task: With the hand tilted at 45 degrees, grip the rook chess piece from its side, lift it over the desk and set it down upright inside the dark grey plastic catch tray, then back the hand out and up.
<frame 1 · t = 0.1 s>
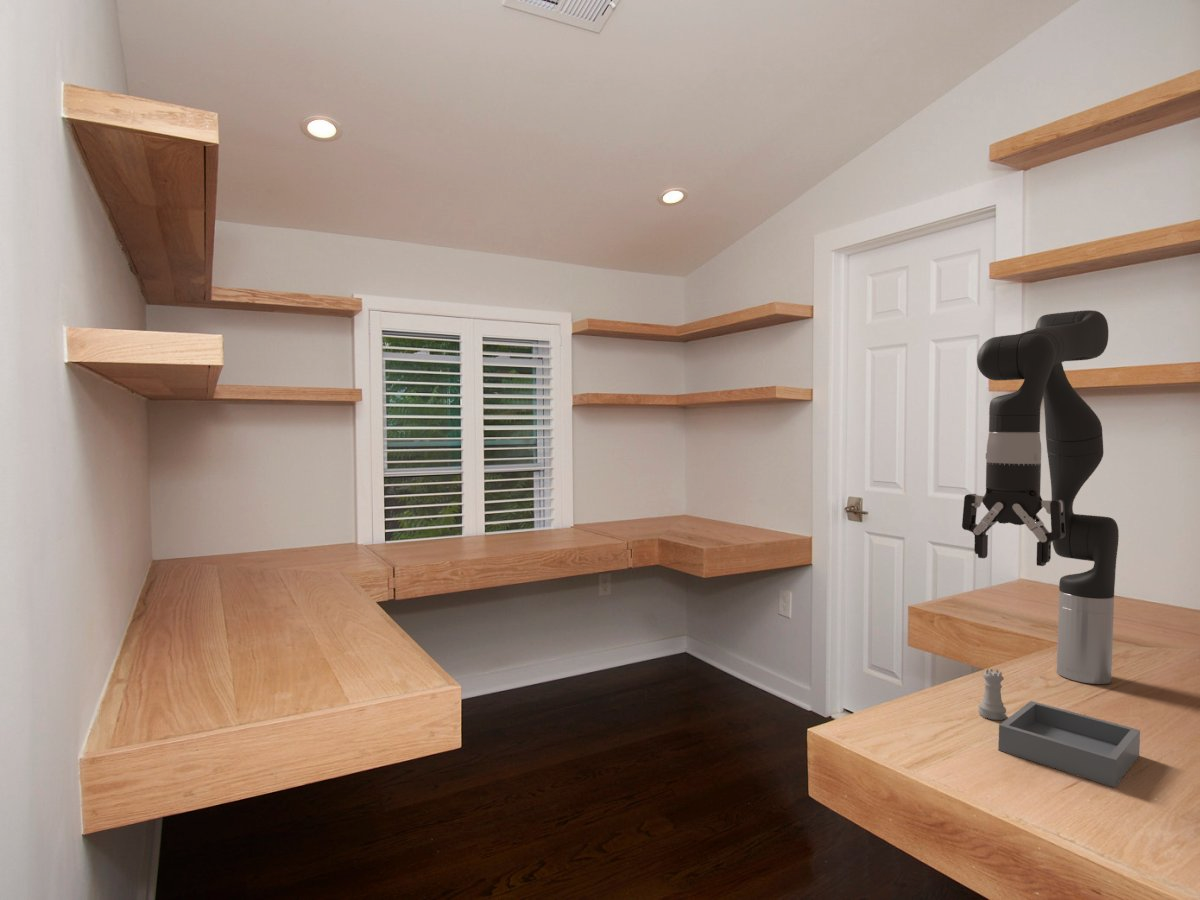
hand: (1010, 561, 111), 29 cm above the table, tool pointing down, fingers open, 8 cm apart
rook chess piece: (991, 717, 121), on the table
catch tray: (1068, 752, 108), on the table
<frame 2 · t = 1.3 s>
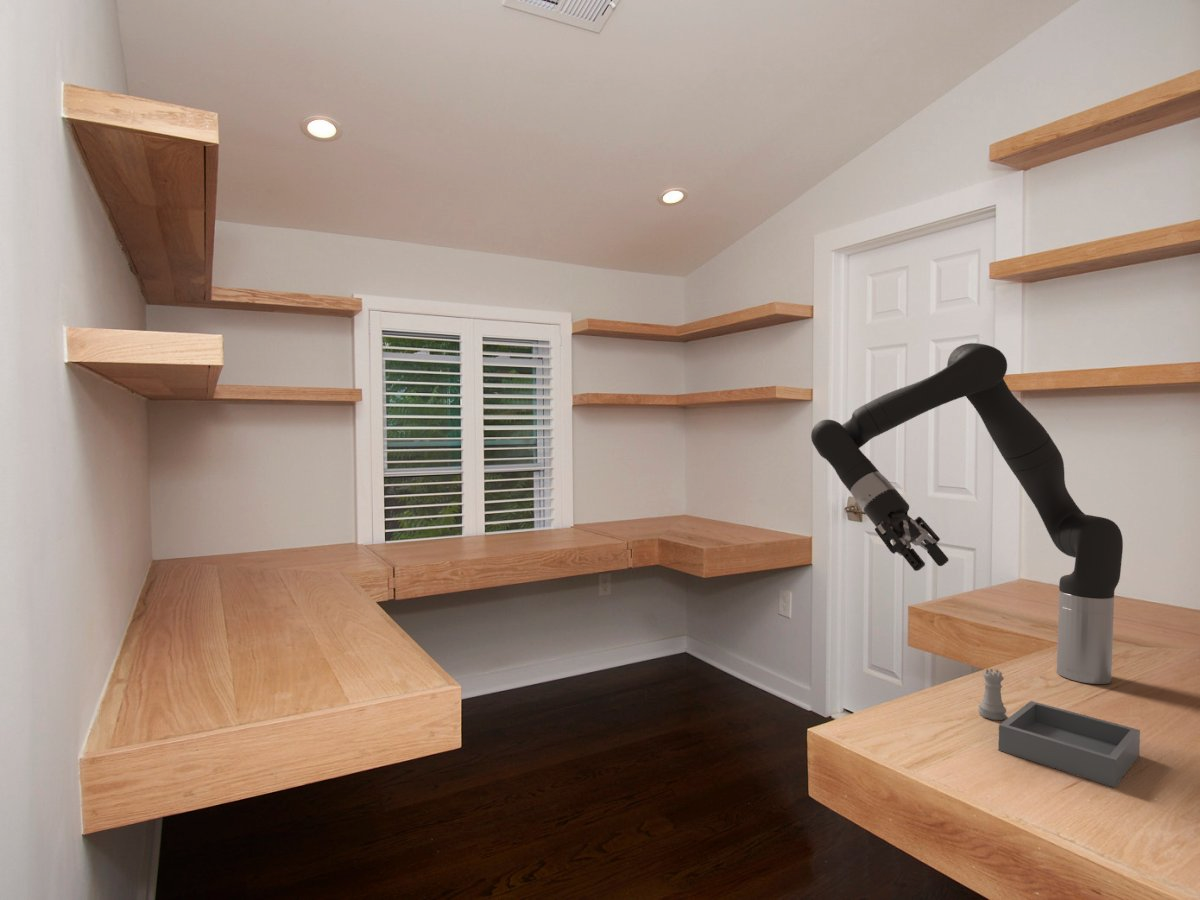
hand: (933, 565, 130), 25 cm above the table, tool tilted 45°, fingers open, 8 cm apart
nothing on the table moved.
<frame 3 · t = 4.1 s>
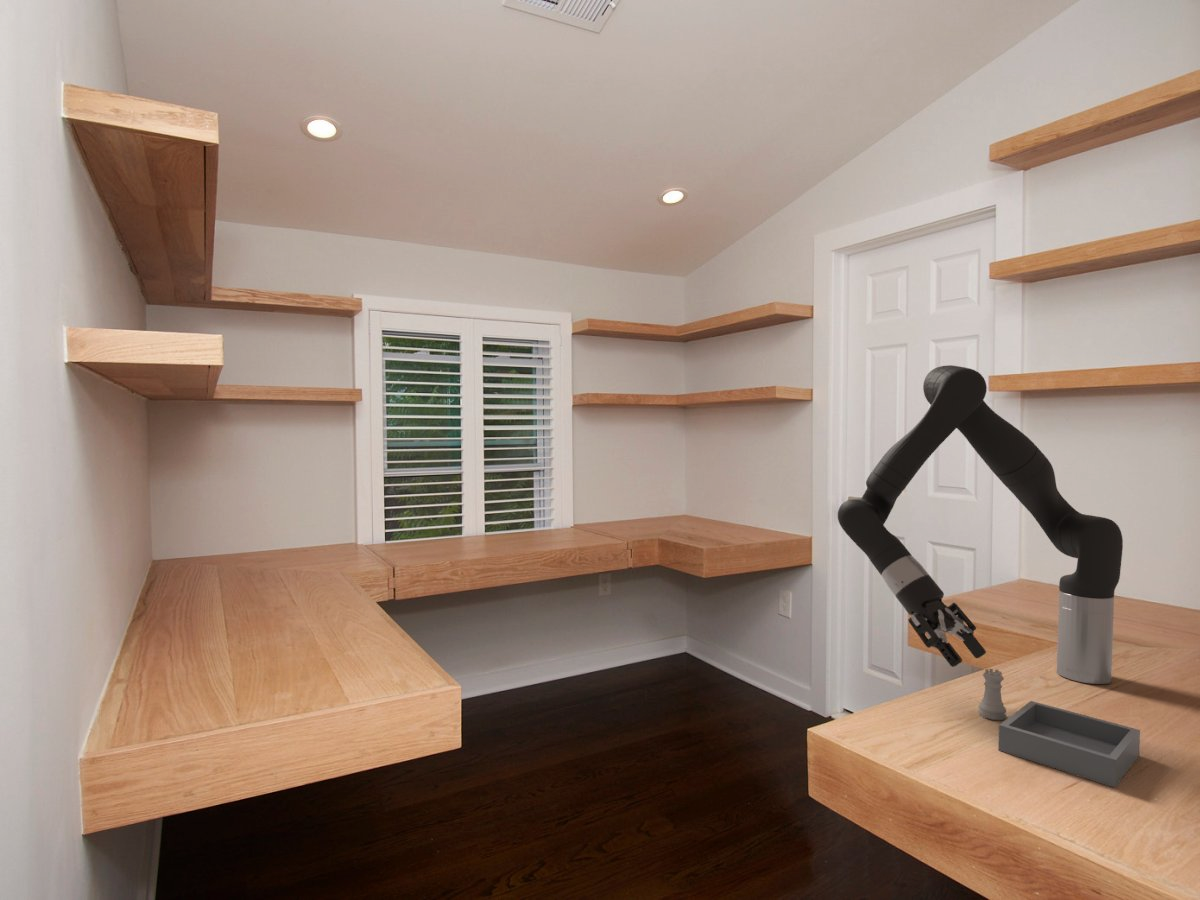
hand: (970, 660, 125), 9 cm above the table, tool tilted 45°, fingers open, 8 cm apart
nothing on the table moved.
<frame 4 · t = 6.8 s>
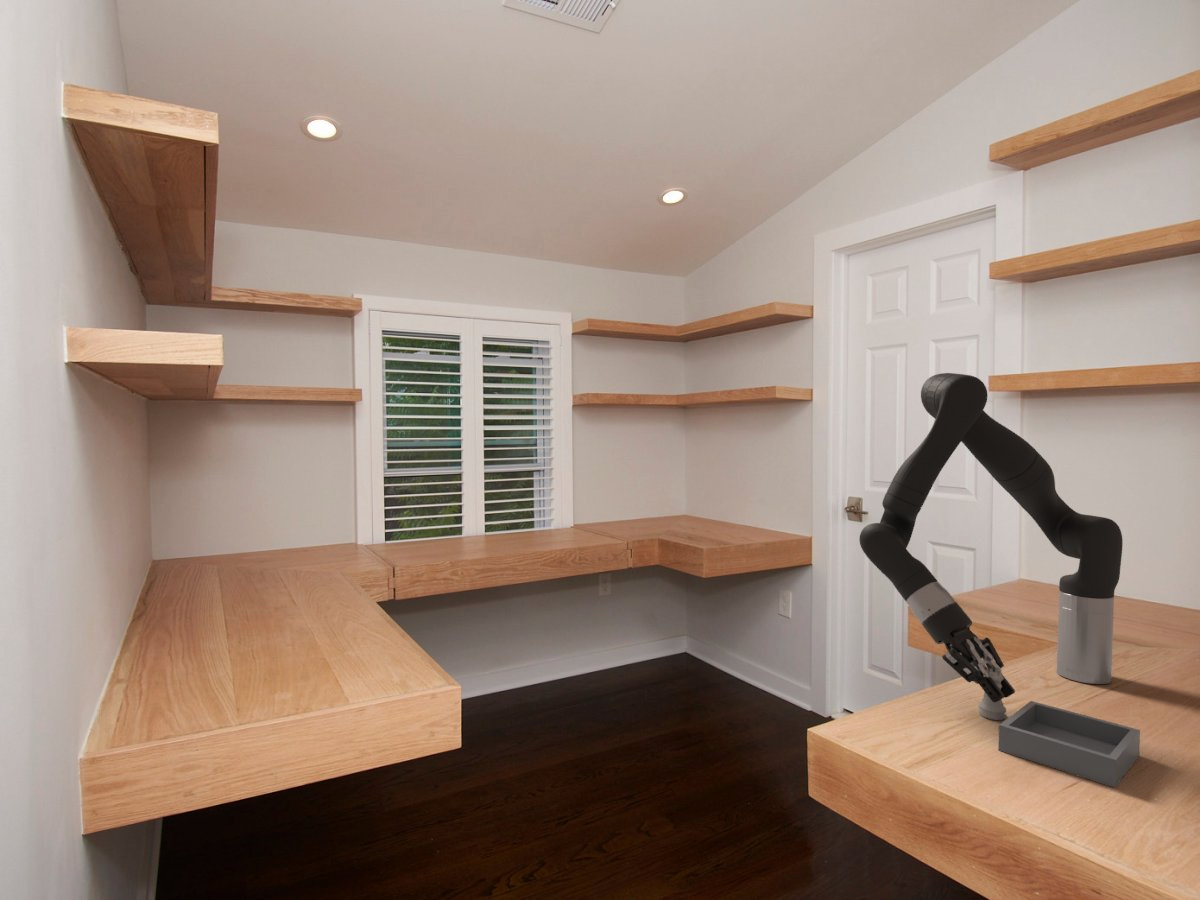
hand: (1004, 697, 120), 4 cm above the table, tool tilted 45°, fingers closed on rook chess piece, 3 cm apart
rook chess piece: (992, 717, 121), on the table, touching gripper
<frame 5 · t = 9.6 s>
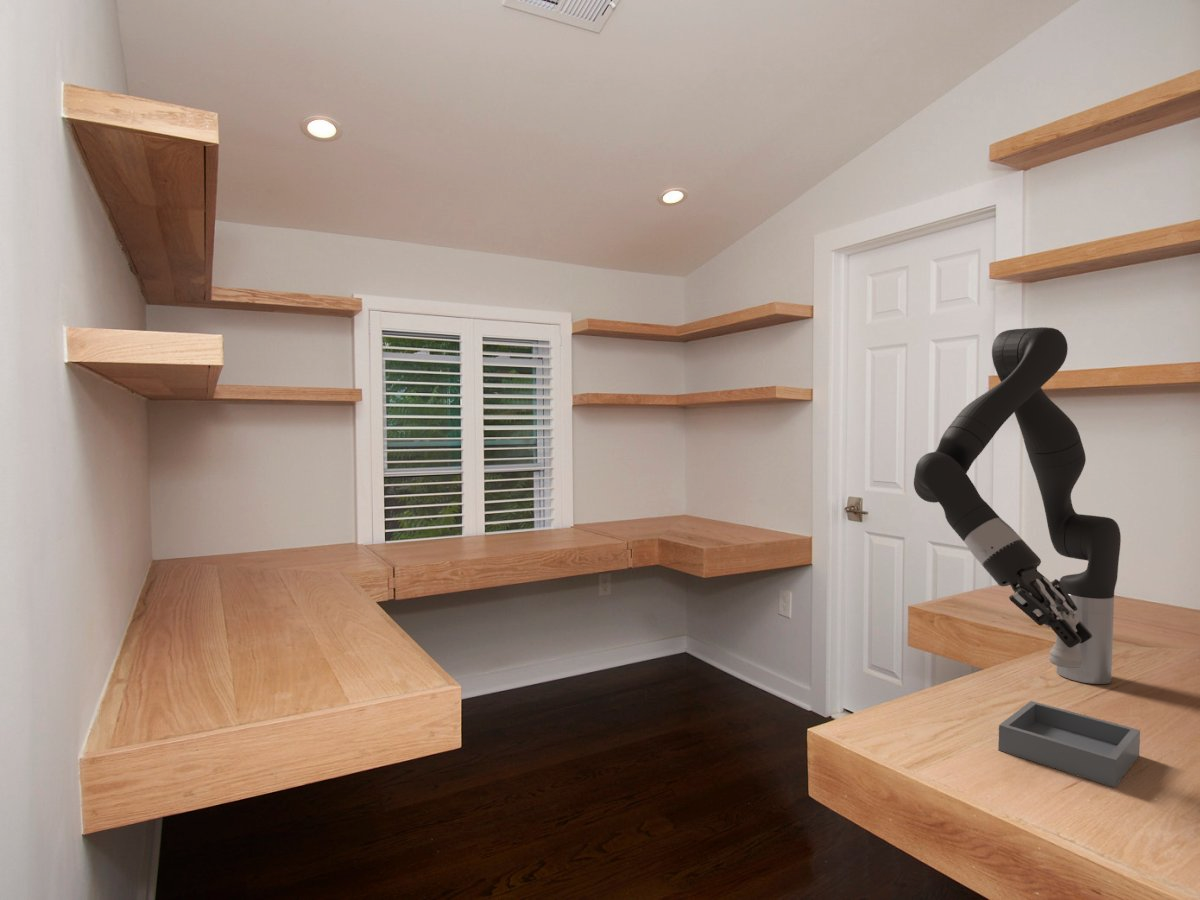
hand: (1081, 642, 106), 18 cm above the table, tool tilted 45°, fingers closed on rook chess piece, 3 cm apart
rook chess piece: (1065, 665, 108), point 14 cm above the table, touching gripper
when the fingers open (7 cm above the table, at t = 12.4 s): rook chess piece drops 2 cm, resting on catch tray.
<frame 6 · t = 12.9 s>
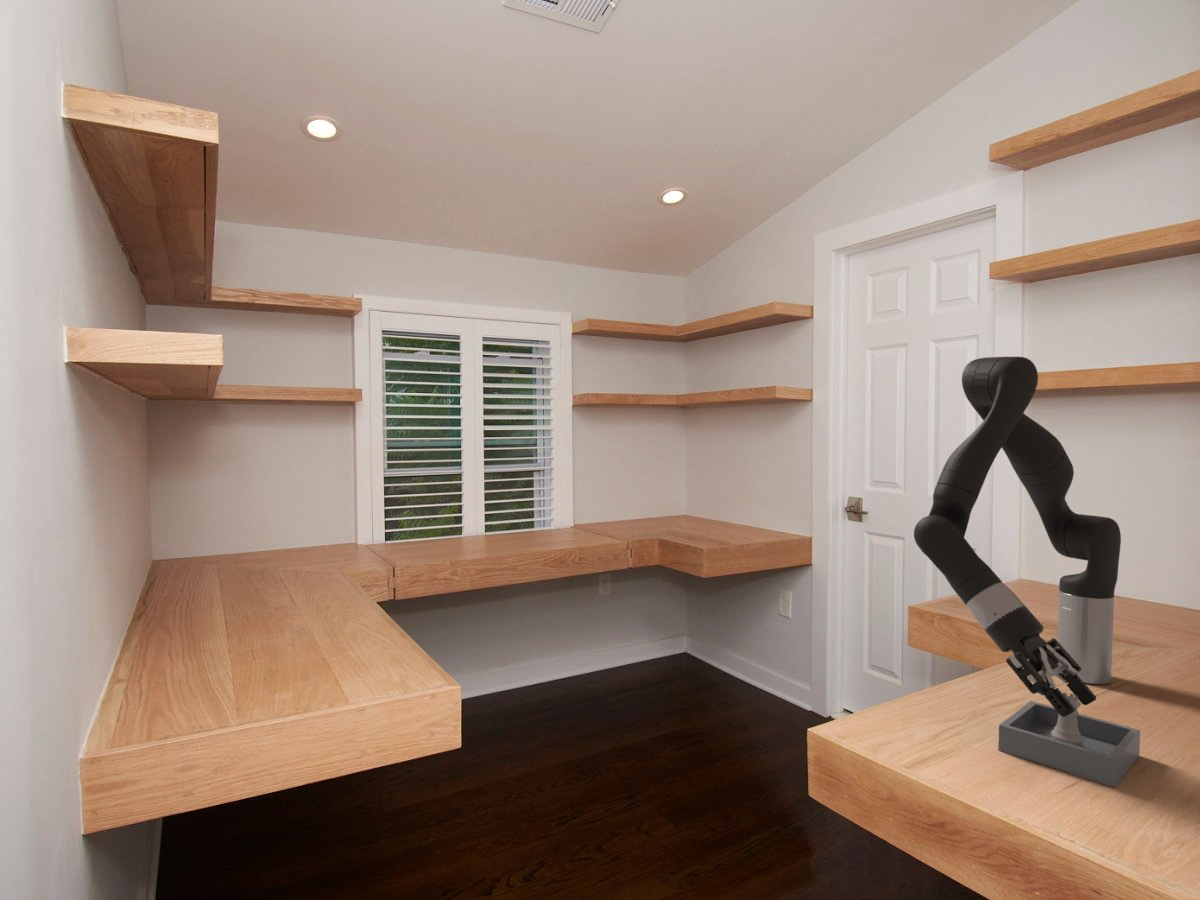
hand: (1080, 708, 106), 8 cm above the table, tool tilted 45°, fingers open, 7 cm apart
rook chess piece: (1066, 747, 108), point 1 cm above the table, touching catch tray
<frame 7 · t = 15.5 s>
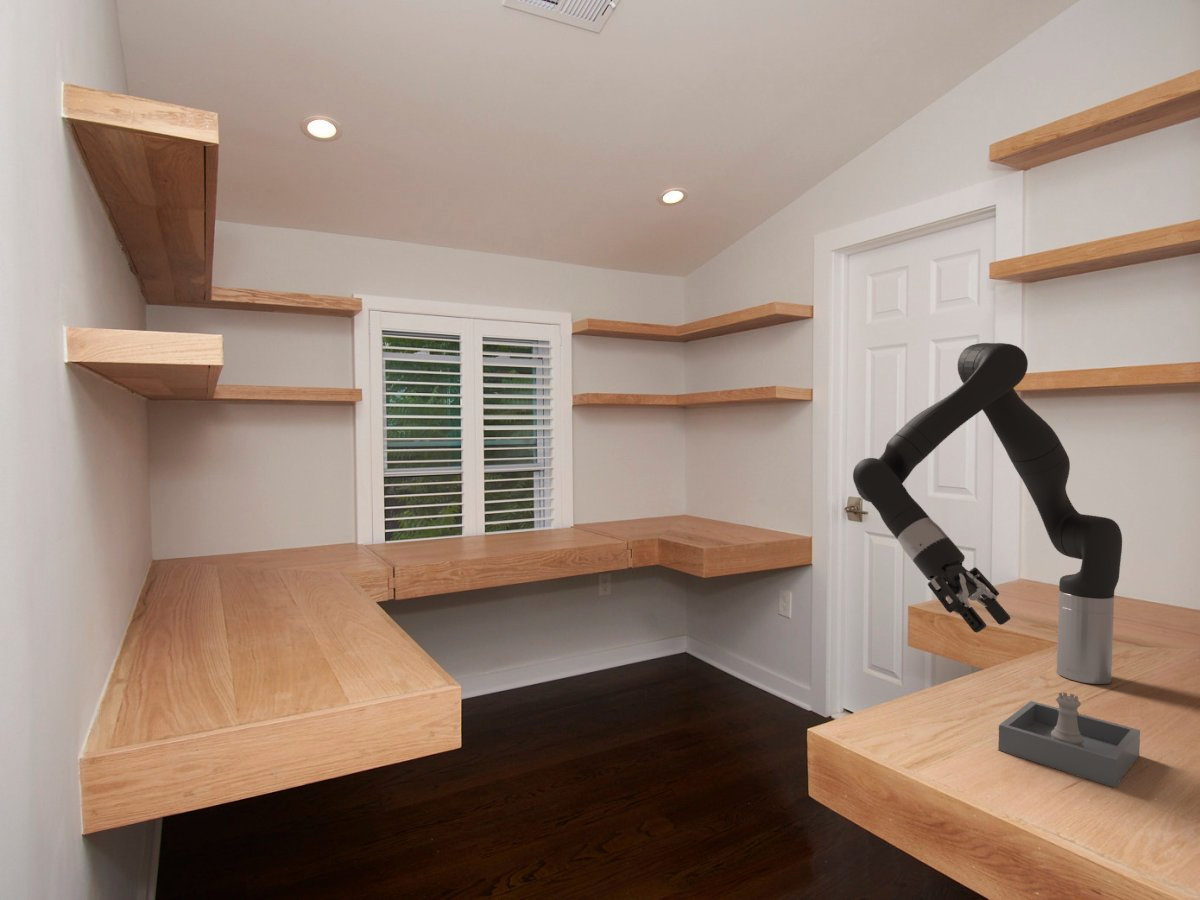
hand: (994, 625, 117), 17 cm above the table, tool tilted 45°, fingers open, 8 cm apart
nothing on the table moved.
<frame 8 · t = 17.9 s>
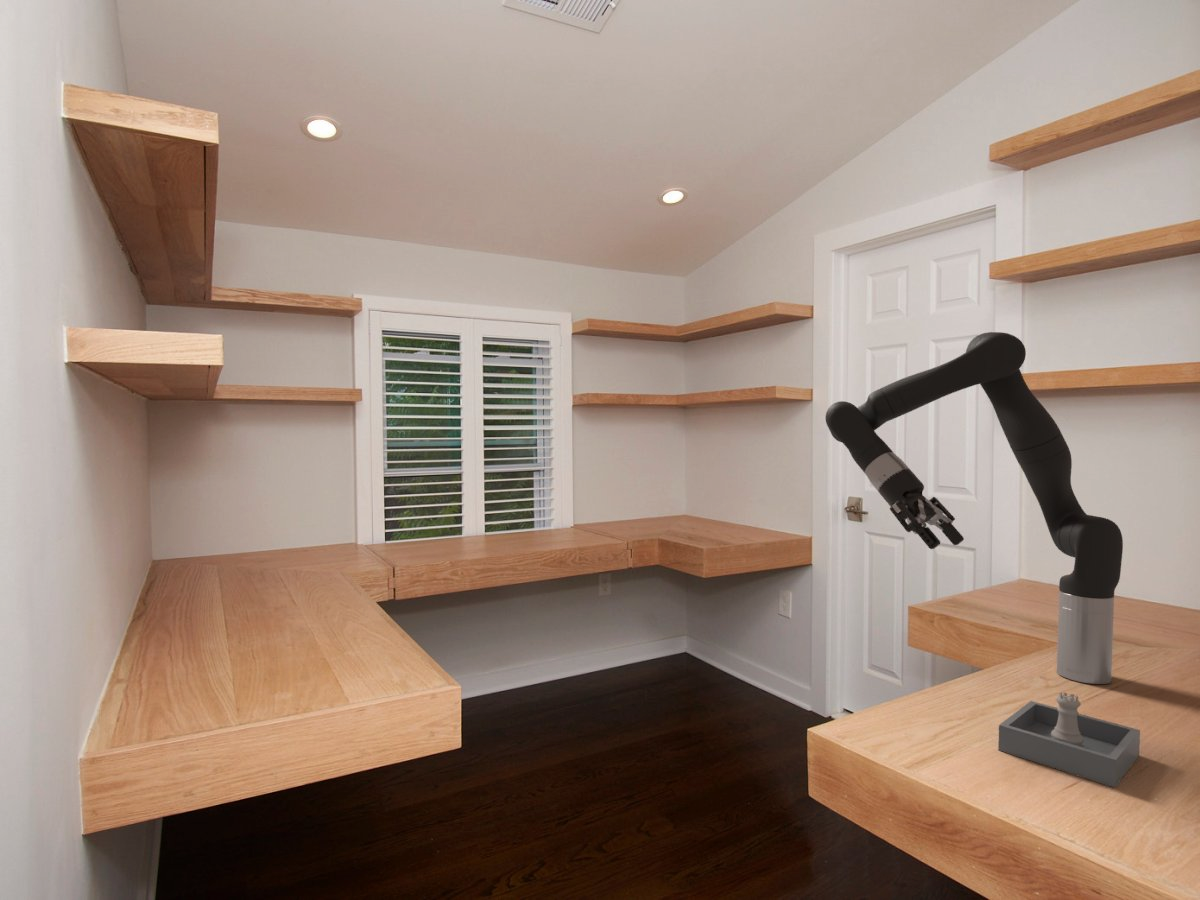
hand: (948, 544, 130), 29 cm above the table, tool tilted 45°, fingers open, 8 cm apart
nothing on the table moved.
at the end: rook chess piece inside the target area on the catch tray (0.2 cm from its centre), point 0.8 cm above the catch tray's base; rook chess piece tilted 0°; the gripper is holding nothing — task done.
